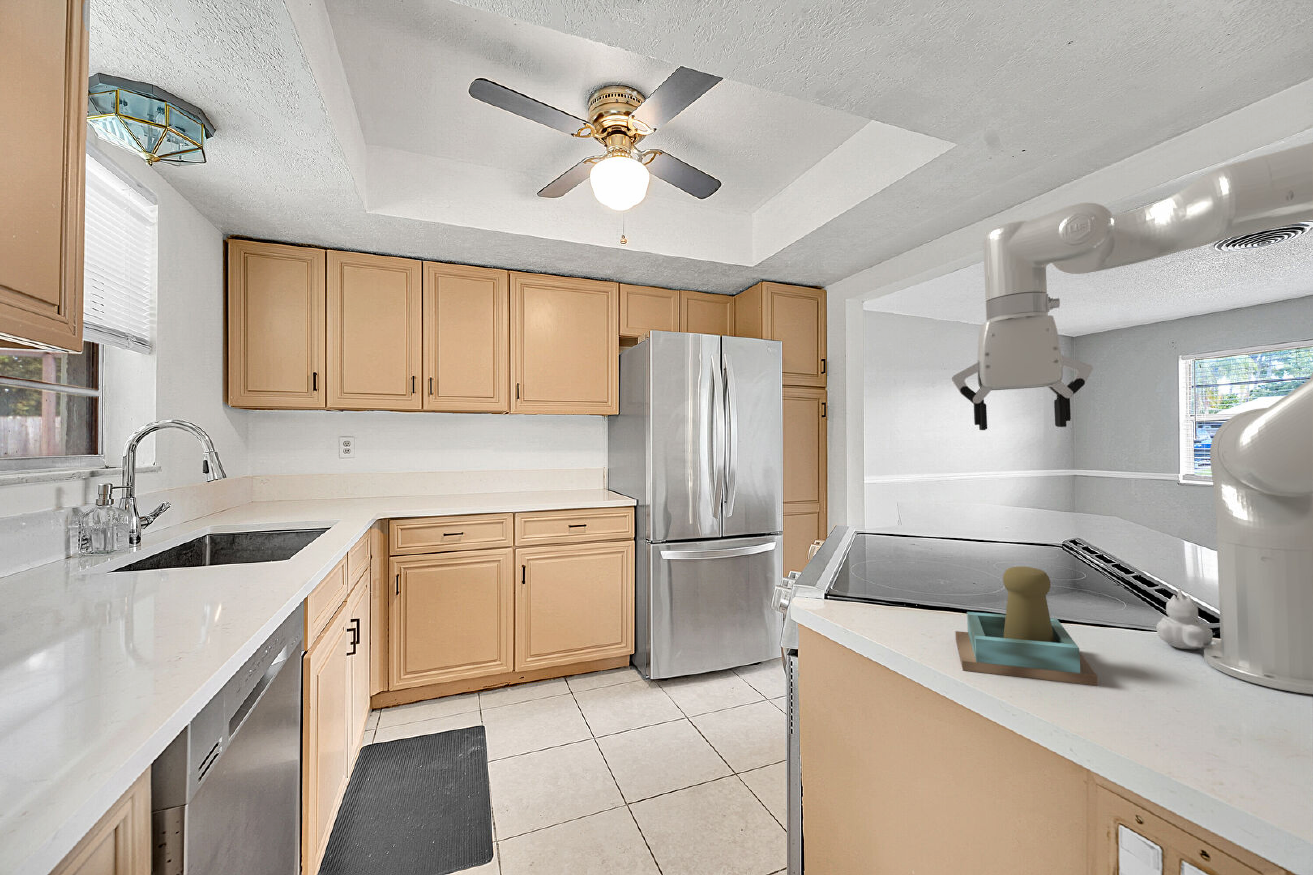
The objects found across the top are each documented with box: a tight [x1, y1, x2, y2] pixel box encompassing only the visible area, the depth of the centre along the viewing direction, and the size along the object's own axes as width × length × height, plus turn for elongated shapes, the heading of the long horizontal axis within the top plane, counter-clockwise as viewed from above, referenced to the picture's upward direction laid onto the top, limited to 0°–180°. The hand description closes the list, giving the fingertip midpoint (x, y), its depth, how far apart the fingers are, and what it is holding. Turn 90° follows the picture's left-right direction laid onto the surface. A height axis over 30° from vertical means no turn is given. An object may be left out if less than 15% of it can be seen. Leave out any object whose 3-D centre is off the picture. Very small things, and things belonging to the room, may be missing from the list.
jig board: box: [954, 611, 1098, 686], centre depth 74 cm, size 14×11×4 cm
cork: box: [1002, 566, 1055, 643], centre depth 73 cm, size 6×6×11 cm
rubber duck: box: [1156, 587, 1214, 650], centre depth 74 cm, size 5×7×8 cm
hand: (1021, 428), depth 82 cm, fingers open, 9 cm apart
